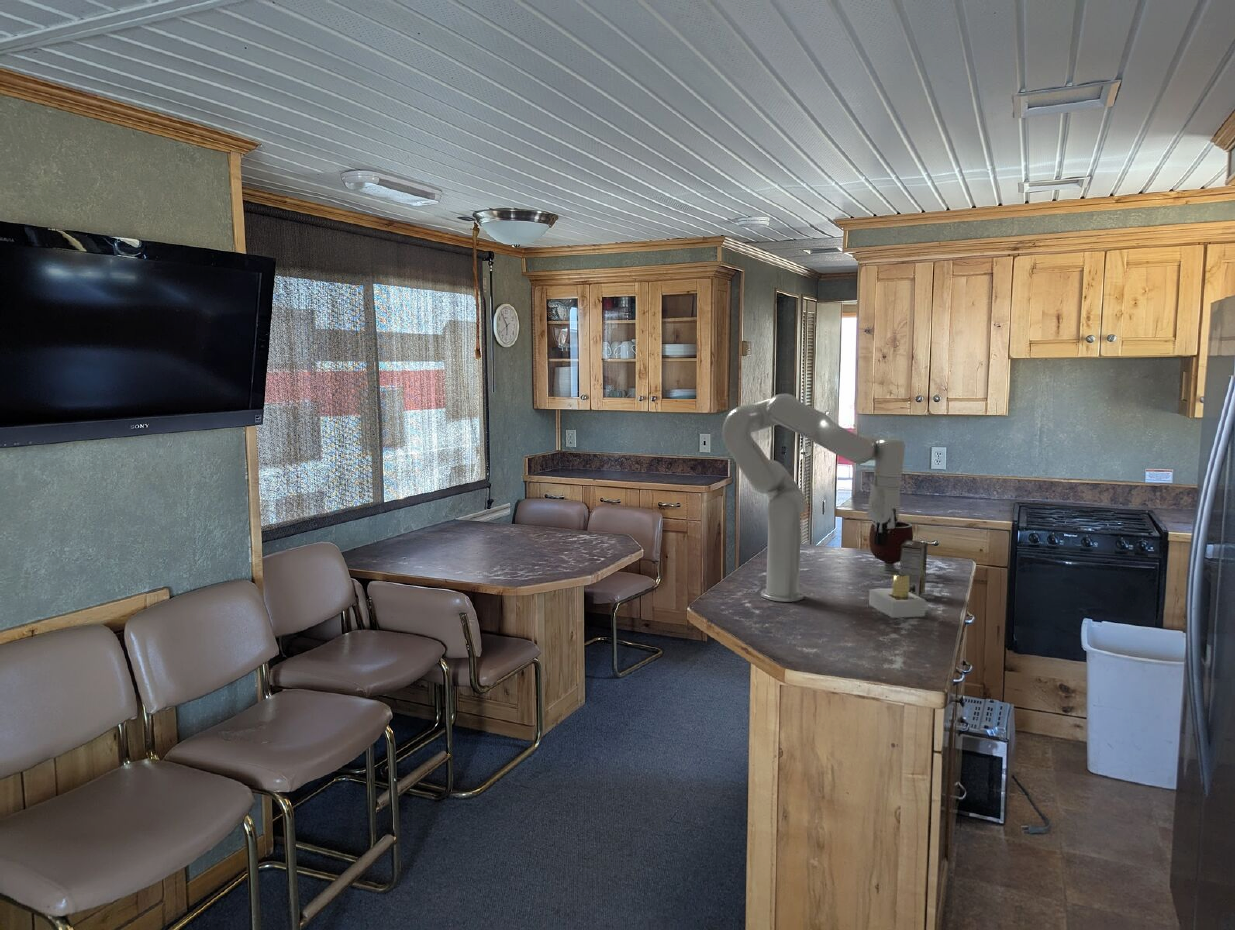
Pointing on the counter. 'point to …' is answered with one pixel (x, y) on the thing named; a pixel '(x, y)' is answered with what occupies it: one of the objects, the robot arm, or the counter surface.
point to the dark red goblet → (890, 548)
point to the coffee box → (914, 565)
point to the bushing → (900, 587)
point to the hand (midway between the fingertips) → (880, 545)
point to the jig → (896, 604)
